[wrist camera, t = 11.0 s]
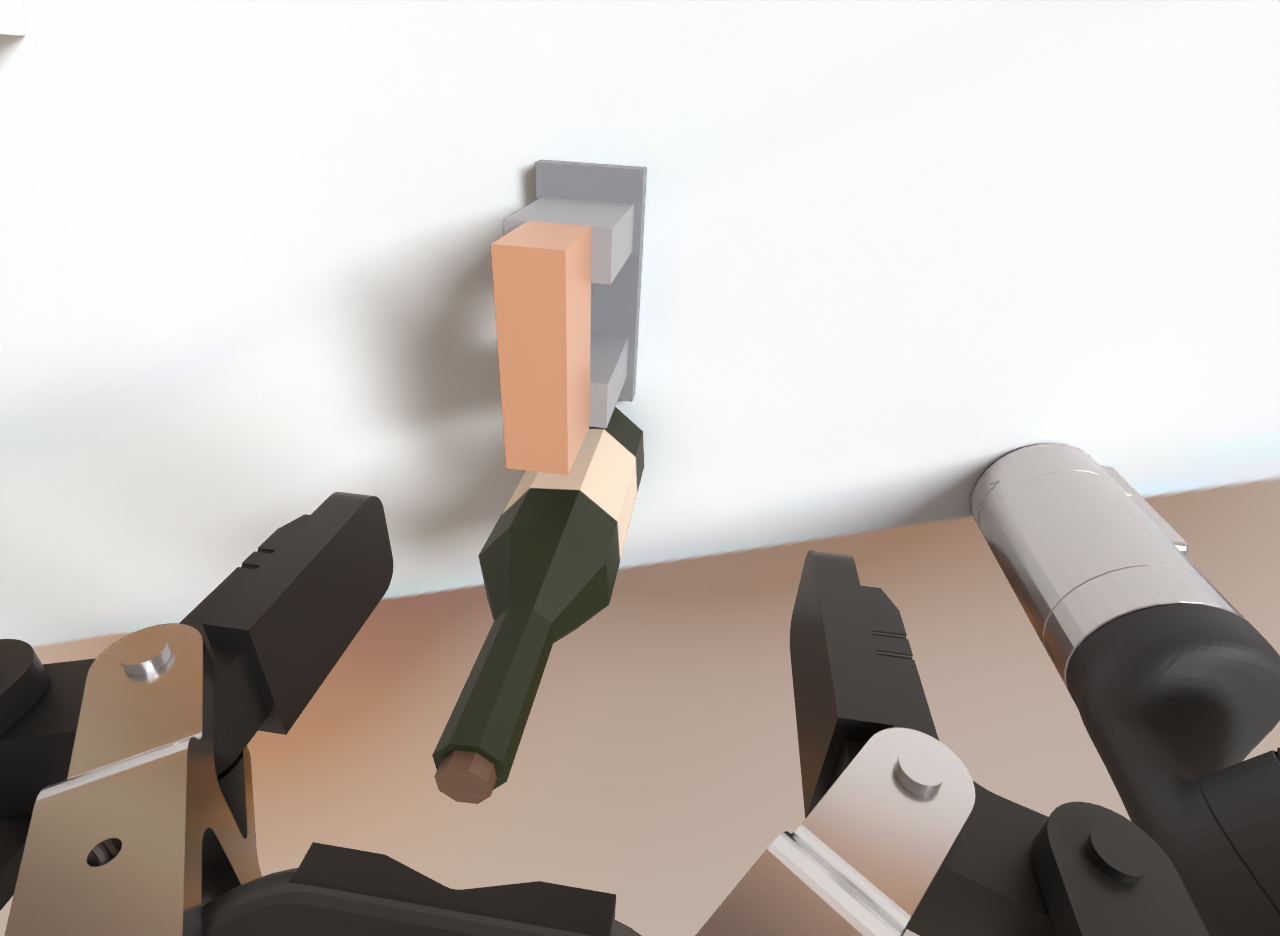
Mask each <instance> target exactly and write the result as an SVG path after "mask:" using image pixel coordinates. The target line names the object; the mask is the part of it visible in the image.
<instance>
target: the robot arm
mask: <svg viewBox="0 0 1280 936" xmlns="http://www.w3.org/2000/svg"><path fill="white" fill-rule="evenodd" d="M971 505H972V512H973V516H974V519H975V521H976V522H977V524H978V526H979V528H980V530H981V532H982V533H983V535H984V537H985V539H986V541H987V543H988V544H989V546H990V548H991V550H992V552H993V554H994V556H995V557H996V559H997V561H998V563H999V565H1000V567H1001V569H1002V571H1003V572H1004V574H1005V576H1006V578H1007V580H1008V582H1009V583H1010V585H1011V587H1012V589H1013V590H1014V592H1015V594H1016V596H1017V598H1018V600H1019V602H1020V603H1021V605H1022V607H1023V609H1024V611H1025V613H1026V614H1027V616H1028V618H1029V620H1030V622H1031V624H1032V625H1033V627H1034V629H1035V631H1036V633H1037V635H1038V636H1039V638H1040V640H1041V642H1042V644H1043V646H1044V648H1045V649H1046V651H1047V653H1048V655H1049V656H1050V658H1051V660H1052V662H1053V663H1054V665H1055V667H1056V669H1057V671H1058V673H1059V675H1060V676H1061V678H1062V680H1063V682H1064V684H1065V686H1066V687H1067V689H1068V691H1069V693H1070V695H1071V697H1072V699H1073V700H1074V702H1075V704H1076V706H1077V708H1078V710H1079V712H1080V715H1081V717H1082V720H1083V723H1084V725H1085V727H1086V729H1087V732H1088V733H1089V736H1090V738H1091V740H1092V742H1093V743H1094V745H1095V747H1096V749H1097V751H1098V753H1099V755H1100V757H1101V759H1102V760H1103V762H1104V764H1105V766H1106V768H1107V770H1108V772H1109V774H1110V777H1111V779H1112V781H1113V783H1114V785H1115V787H1116V789H1117V791H1118V793H1119V795H1120V797H1121V799H1122V801H1123V804H1124V806H1125V808H1126V810H1127V812H1128V815H1129V817H1130V819H1131V821H1132V822H1131V821H1129V820H1128V819H1126V818H1125V817H1123V816H1121V815H1119V814H1117V813H1116V812H1113V811H1112V810H1109V809H1107V808H1104V807H1102V806H1099V805H1095V804H1091V803H1085V802H1070V803H1066V804H1062V805H1061V806H1059V807H1057V808H1056V809H1055V810H1054V811H1053V812H1052V813H1051V815H1050V816H1049V817H1047V816H1045V815H1042V814H1040V813H1038V812H1035V811H1033V810H1030V809H1028V808H1026V807H1024V806H1021V805H1019V804H1017V803H1014V802H1012V801H1010V800H1007V799H1005V798H1002V797H1000V796H998V795H996V794H994V793H992V792H990V791H988V790H986V789H985V788H983V787H981V786H980V785H978V784H977V783H975V782H974V781H972V778H971V776H970V774H969V772H968V770H967V769H966V767H965V765H964V764H963V762H962V761H961V760H960V759H959V758H958V757H957V755H956V754H955V753H954V752H952V751H951V750H950V749H949V748H948V747H947V746H945V745H944V744H943V743H941V742H940V741H939V739H938V736H937V733H936V730H935V727H934V723H933V720H932V717H931V713H930V710H929V707H928V704H927V701H926V697H925V694H924V690H923V687H922V684H921V681H920V677H919V674H918V671H917V668H916V664H915V661H914V660H912V655H913V654H912V651H911V648H910V645H909V641H908V640H907V639H906V632H905V628H904V625H903V622H902V619H901V615H900V612H899V610H898V609H897V608H896V606H895V605H894V604H893V603H892V601H891V600H890V599H889V598H888V597H887V595H886V594H885V593H884V592H883V591H882V590H881V589H880V588H874V587H865V586H860V583H859V579H858V574H857V570H856V566H855V562H854V559H853V557H852V556H849V555H840V554H832V553H824V552H815V551H809V552H808V554H807V556H806V559H805V564H804V568H803V572H802V576H801V581H800V584H799V589H798V593H797V597H796V602H795V606H794V610H793V614H792V620H791V629H790V653H791V664H792V676H793V687H794V698H795V709H796V719H797V731H798V742H799V753H800V764H801V775H802V785H803V797H804V808H805V820H804V822H803V823H802V824H801V825H800V826H799V828H798V829H797V830H796V831H795V832H793V833H792V834H790V833H789V832H787V831H786V832H784V833H782V834H781V835H780V836H778V837H777V838H776V839H775V840H774V841H773V842H772V843H771V844H770V846H769V847H768V848H767V849H766V850H765V852H764V853H763V854H762V855H761V856H760V858H759V859H758V860H757V861H756V862H755V864H754V865H753V866H752V867H751V869H750V870H749V871H748V872H747V873H746V875H745V876H744V877H743V878H742V879H741V881H740V882H739V883H738V884H737V886H736V887H735V888H734V889H733V890H732V892H731V893H730V894H729V895H728V896H727V898H726V899H725V900H724V901H723V903H722V904H721V905H720V906H719V907H718V909H717V910H716V911H715V912H714V913H713V915H712V916H711V917H710V918H709V920H708V921H707V922H706V923H705V924H704V926H703V927H702V928H701V929H700V930H699V932H698V933H697V934H696V935H695V936H903V935H904V933H905V931H906V929H908V930H910V931H912V932H914V933H916V934H918V935H920V936H1280V748H1278V749H1277V752H1276V751H1273V750H1272V751H1269V752H1267V753H1264V754H1262V755H1259V756H1256V757H1254V758H1251V759H1248V760H1246V761H1243V760H1244V759H1245V758H1246V756H1247V755H1248V754H1249V753H1250V752H1251V751H1252V750H1253V749H1254V748H1255V747H1256V746H1257V745H1258V744H1259V743H1260V742H1261V741H1262V739H1264V737H1265V736H1266V735H1267V734H1268V733H1269V732H1270V731H1272V729H1273V728H1274V727H1275V725H1276V724H1277V723H1278V722H1279V721H1280V656H1279V655H1278V653H1277V652H1276V651H1275V650H1274V648H1273V647H1272V646H1271V645H1270V644H1269V643H1268V641H1267V640H1266V639H1265V638H1264V637H1263V636H1262V635H1261V634H1260V633H1259V632H1258V631H1257V630H1256V629H1255V628H1254V627H1253V626H1252V625H1251V624H1250V623H1249V622H1248V621H1247V620H1246V619H1245V618H1244V617H1243V616H1242V615H1241V613H1239V611H1238V610H1237V609H1236V608H1235V607H1234V606H1233V605H1232V604H1231V603H1230V602H1229V601H1228V600H1227V599H1226V598H1225V597H1224V596H1223V595H1222V594H1221V593H1220V591H1218V589H1217V588H1216V587H1215V586H1214V585H1213V584H1212V583H1211V582H1210V581H1209V580H1208V579H1207V578H1206V577H1205V576H1204V575H1203V574H1202V573H1201V572H1200V571H1199V570H1198V569H1197V568H1196V567H1195V566H1194V565H1193V564H1192V562H1190V560H1189V559H1188V558H1187V557H1186V556H1185V555H1186V553H1187V551H1188V545H1187V544H1186V542H1185V541H1184V540H1183V539H1182V538H1181V537H1180V536H1179V535H1178V533H1176V532H1175V530H1174V529H1173V528H1172V527H1171V526H1170V525H1168V523H1167V522H1166V521H1165V520H1164V519H1163V518H1162V517H1161V516H1160V515H1159V514H1158V513H1157V512H1156V511H1155V510H1154V509H1153V508H1152V507H1151V506H1150V505H1149V504H1148V503H1147V502H1146V501H1145V500H1144V499H1143V498H1142V497H1141V496H1140V495H1139V494H1138V493H1137V492H1136V491H1135V490H1134V489H1133V488H1132V487H1131V486H1130V485H1129V484H1128V483H1127V482H1126V481H1125V480H1124V479H1123V477H1122V476H1121V475H1120V474H1119V473H1118V472H1117V471H1116V470H1115V469H1114V468H1109V467H1103V466H1100V465H1099V464H1097V463H1096V462H1095V461H1094V460H1093V459H1092V458H1091V457H1090V456H1089V455H1088V454H1086V453H1085V452H1083V451H1081V450H1080V449H1078V448H1074V447H1071V446H1068V445H1063V444H1054V443H1050V444H1037V445H1032V446H1028V447H1024V448H1021V449H1019V450H1016V451H1013V452H1011V453H1009V454H1007V455H1006V456H1004V457H1002V458H1001V459H999V460H997V461H996V462H995V463H994V464H993V465H991V466H990V467H989V468H988V469H987V470H986V471H985V472H984V474H983V475H982V476H981V477H980V479H979V480H978V482H977V484H976V486H975V488H974V491H973V495H972V499H971ZM392 573H393V557H392V552H391V546H390V541H389V536H388V530H387V525H386V519H385V514H384V509H383V505H382V502H381V500H380V499H379V498H378V497H376V496H368V495H359V494H351V493H343V492H336V493H333V494H332V495H331V496H329V497H328V498H327V499H326V500H325V501H324V502H323V503H322V504H321V505H320V506H319V507H318V508H317V509H316V510H315V511H314V512H313V513H312V514H311V515H303V516H301V517H299V518H297V519H296V520H294V521H292V522H290V523H288V524H286V525H285V526H283V527H281V528H279V529H277V530H276V531H275V532H274V533H273V534H272V535H271V536H270V537H269V538H268V539H267V540H266V541H265V542H264V543H263V544H262V545H261V546H260V547H258V551H257V552H253V553H252V554H251V555H250V556H249V557H248V558H247V559H246V560H245V561H244V562H243V563H242V567H238V568H237V569H235V570H234V571H233V572H232V573H231V574H230V575H229V576H228V577H227V578H226V579H225V580H224V581H223V582H222V583H221V584H220V585H219V586H218V587H217V588H216V589H215V590H214V591H212V592H211V593H210V594H209V595H208V596H207V597H206V598H205V599H204V600H203V601H202V602H201V603H200V604H199V605H198V606H197V607H196V608H195V609H194V610H193V611H192V612H191V613H189V614H188V615H187V616H186V617H185V618H184V619H183V620H182V621H181V622H180V623H179V624H177V623H174V624H161V625H156V626H152V627H148V628H145V629H142V630H139V631H136V632H134V633H132V634H129V635H127V636H125V637H123V638H122V639H120V640H118V641H117V642H115V643H113V644H112V645H111V646H109V647H108V648H107V649H105V650H104V651H103V652H102V653H101V654H100V655H99V656H98V657H97V658H96V659H88V660H79V661H71V662H63V663H53V664H44V665H42V664H41V662H40V660H39V658H38V657H37V655H36V653H35V652H34V650H33V649H32V647H31V646H30V645H29V644H28V643H26V642H24V641H21V640H15V639H1V640H0V910H1V909H2V908H3V907H4V906H5V904H6V903H7V902H8V901H9V900H10V898H11V897H12V896H13V895H14V896H13V900H12V905H11V909H10V913H9V918H8V922H7V927H6V931H5V936H641V935H639V934H638V933H637V932H635V931H634V930H633V929H631V928H630V927H628V926H626V925H624V924H622V923H620V922H618V921H616V920H615V905H616V894H609V893H604V892H598V891H592V890H587V889H581V888H574V887H569V886H563V885H558V884H552V883H545V882H540V881H538V882H530V883H520V884H511V885H501V886H492V887H483V888H474V889H464V890H455V889H450V888H448V887H445V886H443V885H441V884H440V883H438V882H436V881H434V880H432V879H430V878H428V877H426V876H424V875H422V874H420V873H419V872H417V871H415V870H413V869H411V868H409V867H407V866H405V865H403V864H401V863H400V862H398V861H396V860H394V859H392V858H390V857H388V856H386V855H383V854H378V853H371V852H366V851H360V850H355V849H349V848H342V847H336V846H331V845H325V844H320V843H314V842H313V843H312V845H311V847H310V848H309V850H308V852H307V854H306V855H305V857H304V859H303V861H302V863H301V865H300V866H299V868H295V869H289V870H285V871H281V872H276V873H272V874H269V875H266V876H263V877H262V876H261V872H260V868H259V864H258V857H257V850H256V834H255V818H254V804H253V789H252V788H253V787H252V771H251V757H250V752H249V749H248V747H247V744H248V743H249V741H250V740H251V739H252V737H253V736H254V735H255V733H256V732H257V731H258V730H259V731H266V732H272V733H279V734H285V735H286V734H287V733H288V731H289V730H290V729H291V727H292V726H293V724H294V723H295V721H296V720H297V718H298V717H299V716H300V714H301V713H302V711H303V710H304V708H305V707H306V706H307V704H308V703H309V701H310V700H311V699H312V697H313V696H314V694H315V693H316V691H317V690H318V688H319V687H320V686H321V684H322V683H323V681H324V680H325V679H326V677H327V676H328V674H329V673H330V671H331V670H332V668H333V667H334V666H335V664H336V663H337V661H338V660H339V658H340V657H341V656H342V654H343V653H344V651H345V650H346V649H347V647H348V646H349V644H350V643H351V641H352V640H353V638H354V637H355V636H356V634H357V633H358V631H359V630H360V629H361V627H362V626H363V624H364V623H365V621H366V620H367V619H368V617H369V616H370V614H371V613H372V611H373V610H374V609H375V607H376V606H377V604H378V603H379V601H380V600H381V599H382V597H383V596H384V594H385V593H386V591H387V589H388V587H389V585H390V582H391V578H392ZM1242 761H1243V762H1242Z"/></svg>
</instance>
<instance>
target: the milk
mask: <svg viewBox="0 0 1280 936" xmlns="http://www.w3.org/2000/svg"><path fill="white" fill-rule="evenodd" d="M0 34H5V35H19V36H24V35H25V29H24V15H23V0H0Z"/></svg>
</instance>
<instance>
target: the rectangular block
mask: <svg viewBox="0 0 1280 936" xmlns="http://www.w3.org/2000/svg"><path fill="white" fill-rule="evenodd" d="M491 256H492V271H493V285H494V300H495V314H496V329H497V343H498V358H499V372H500V387H501V401H502V416H503V430H504V445H505V459H506V468H508V469H517V470H526V471H535V472H543V473H552V474H561V475H568V474H569V472H570V470H571V467H572V465H573V463H574V461H575V458H576V456H577V454H578V452H579V449H580V447H581V445H582V443H583V440H584V438H585V436H586V433H587V431H588V429H589V427H590V340H591V226H587V225H574V224H561V223H548V222H535V221H527V222H525V223H523V224H522V225H520V226H519V227H517V228H515V229H514V230H512V231H511V232H509V233H508V234H506V235H504V236H503V237H501V238H500V239H498V240H496V241H495V242H493V243H492V244H491Z"/></svg>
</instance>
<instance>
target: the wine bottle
mask: <svg viewBox="0 0 1280 936" xmlns="http://www.w3.org/2000/svg"><path fill="white" fill-rule="evenodd" d="M643 468H644V451H643V431H642V430H641V429H639V428H638V427H637V426H636V425H635V424H634V423H633V422H632V421H631V420H629V419H628V418H627V417H626V416H625V415H624V414H623V413H622V412H620V411H619V410H618V409H617V408H616V407H615V408H614V410H613V413H612V415H611V418H610V421H609V423H608V426H607V428H599V427H589V429H588V431H587V433H586V436H585V438H584V440H583V443H582V445H581V447H580V449H579V452H578V454H577V456H576V458H575V461H574V463H573V465H572V467H571V470H570V472H569V474H568V475H561V474H552V473H543V472H535V471H526V472H525V473H524V475H523V477H522V479H521V481H520V482H519V484H518V486H517V488H516V490H515V491H514V493H513V495H512V497H511V498H510V500H509V502H508V504H507V506H506V507H505V509H504V511H503V513H502V515H501V516H500V518H499V520H498V522H497V524H496V525H495V527H494V529H493V531H492V533H491V534H490V536H489V538H488V540H487V542H486V543H485V545H484V547H483V549H482V551H481V552H480V554H479V560H480V565H481V570H482V574H483V579H484V584H485V589H486V594H487V598H488V602H489V605H490V609H491V612H492V616H493V619H494V623H493V625H492V627H491V629H490V632H489V634H488V636H487V638H486V640H485V642H484V644H483V647H482V649H481V651H480V653H479V655H478V658H477V660H476V662H475V664H474V666H473V668H472V671H471V673H470V675H469V677H468V679H467V681H466V684H465V686H464V688H463V690H462V692H461V695H460V697H459V699H458V701H457V703H456V706H455V708H454V710H453V712H452V714H451V716H450V718H449V721H448V723H447V725H446V727H445V729H444V732H443V734H442V736H441V738H440V740H439V743H438V745H437V747H436V749H435V751H434V753H433V759H434V762H435V765H436V768H437V772H436V775H435V779H436V782H437V786H438V788H439V790H440V791H441V792H443V793H444V794H446V795H447V796H449V797H451V798H452V799H454V800H455V801H458V802H466V803H475V804H478V803H480V802H482V801H483V800H485V799H486V798H488V797H490V796H491V793H492V791H493V790H494V789H495V788H497V787H499V786H500V785H502V784H503V783H505V782H507V779H508V776H509V773H510V770H511V767H512V764H513V761H514V758H515V755H516V752H517V749H518V746H519V743H520V740H521V737H522V734H523V731H524V728H525V725H526V723H527V719H528V717H529V714H530V711H531V708H532V705H533V702H534V699H535V696H536V693H537V690H538V687H539V684H540V681H541V678H542V675H543V672H544V669H545V666H546V663H547V660H548V657H549V654H550V651H551V648H552V645H553V643H554V642H556V641H558V640H559V639H561V638H563V637H564V636H566V635H567V634H569V633H571V632H572V631H574V630H575V629H577V628H578V627H580V625H582V624H584V623H585V622H586V621H588V620H589V619H590V618H592V617H593V616H594V615H595V614H597V613H598V612H600V611H601V610H602V609H603V608H605V607H606V606H608V605H609V602H610V599H611V595H612V591H613V587H614V583H615V579H616V575H617V571H618V567H619V563H620V559H621V555H622V551H623V547H624V543H625V539H626V535H627V532H628V528H629V524H630V520H631V516H632V512H633V508H634V504H635V500H636V496H637V492H638V488H639V484H640V480H641V476H642V472H643Z"/></svg>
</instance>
